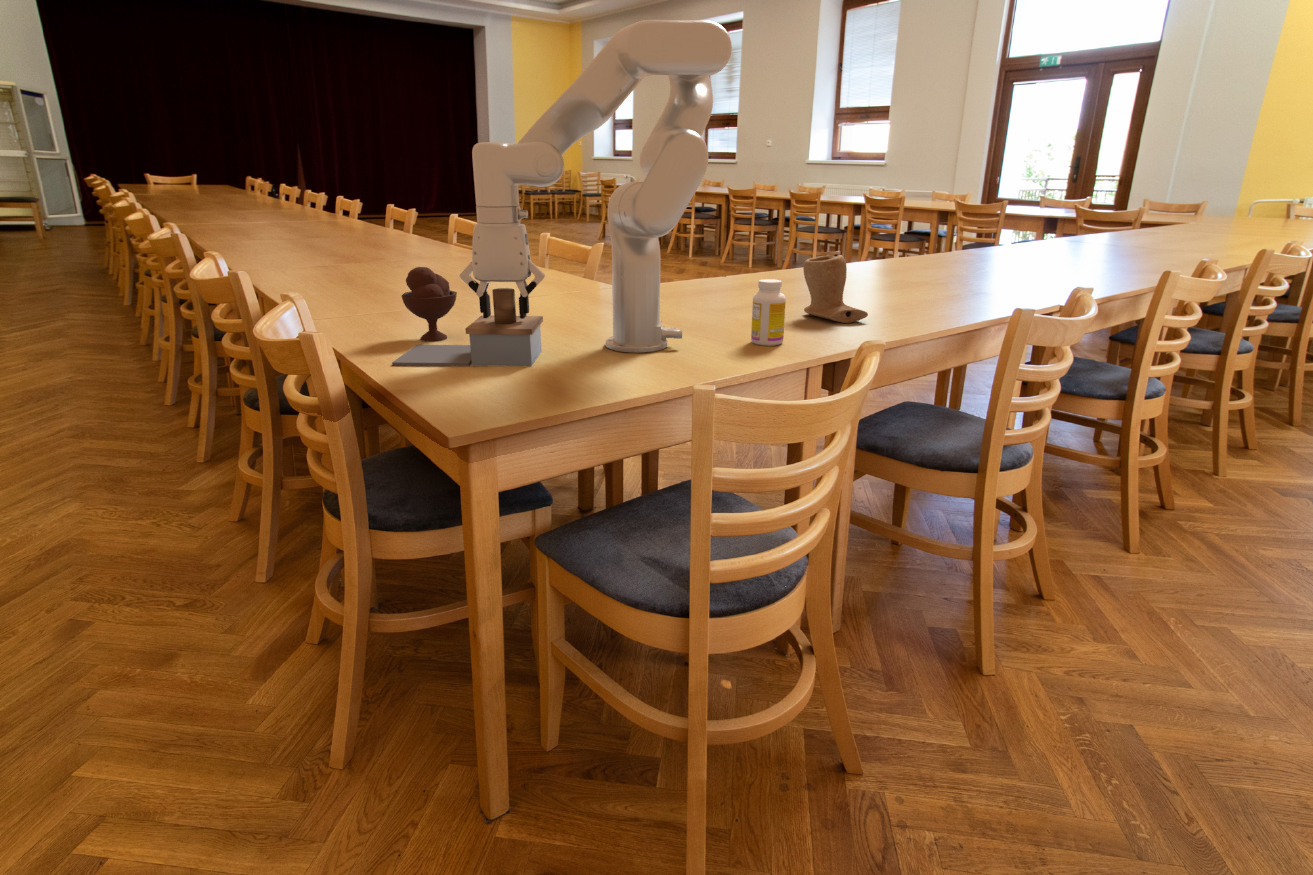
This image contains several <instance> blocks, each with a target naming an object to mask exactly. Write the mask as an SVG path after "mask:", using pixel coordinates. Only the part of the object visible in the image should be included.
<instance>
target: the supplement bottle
mask: <svg viewBox="0 0 1313 875" xmlns="http://www.w3.org/2000/svg"><path fill="white" fill-rule="evenodd" d="M782 284H783V283H782V280H780V279H774V278H770V279H769V278H767V279H766V278H764V279H759V280H758V284H757V285H758V286H757V287H758V292H756V293H754V294H753V297H752V309H751V310H752V313H751V332H750V333H751V334H750V337H751V338H750V341H751V342H752V344H754V345H757V346H764V347H771V346H772V347H774V346H779V345H781V344H782V343H783V342H784V336H785V335H784V334H785V331H784V330H785V320H786V319H785V318H786V295H785V294H784V293H782V292H781V289H782Z"/></svg>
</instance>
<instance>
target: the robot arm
mask: <svg viewBox="0 0 1313 875" xmlns="http://www.w3.org/2000/svg"><path fill="white" fill-rule="evenodd" d="M732 49H733V45H732V40H731V37H730V34H729V32H728V31H727V29H726V28H724V27H723V26H722V25H721V24H719V23H718V22H715V21H713V20H704V19H703V20H702V19H698V20H697V19H693V20H692V19H691V20H690V19H688V20H687V19H684V20H683V19H679V20H677V19H643V20H640V21H637V22H634V23H632V24H629V25H626V26H624V27H621V29H619V30H618V31H617V32H616V33H615V34H614V35H613V36H612V37H611V38H609V40H608V41H607V42H606V44H605V45H604V46H603V47H602V48H601V49H600V51H599V52H598V53H597V54H596V55H595V57H594V58H593V59H592V60H591V62H589V64H588V65H587V66H586V68H585V69H584V70H583V71H582V72H581V73H580V74H579V75H578V76H577V78H576V79H575V80H574V81H573V83H572V84H571V85H570V86H569V87H568V88H567V89H565V91H564V92H563V93H562V94H561V95H560V96H559V97H558V99H556V101H554V102H553V104H552V105H551V106H550V107H549V108H548V109H547V110H546V111H545V112H544V113H543V114H541V116H540V117H539V118H538V119H537V120H536V121H535V123H533V125H532V126H531V127H530V128H529V129H528V130H527V132H526V133H525V134H524V135H523V136H522V137H521V139H520V140H519V141H518V142H517V143H515V144H512V143H509V142H501V141H500V142H499V141H498V142H497V141H487V142H485V141H484V142H482V141H481V142H477V143H476V144H474V145H473V147H472V151H471V153H472V154H471V155H472V156H471V157H472V168H473V169H472V170H473V182H474V195H475V205H476V206H475V209H476V221H477V224H474V225H473V230H472V231H473V233H472V242H471V244H472V247H471V249H472V251H471V252H472V253H471V254H472V255H471V262H470V263H468V265H467V266H466V267H464V268H465V269H463V271H461V272H460V274H459V278H460V279H461V280H462V281H463V282H464V283H465V284H467V285H468V287H469V288H470V289H471V290H472V291H473V292H474V293H475V294H476V296H478V298H479V300H478V301H479V312H480V314H482V316H483V318H488V317H489V316H492V315H491V314H492V312H491V311H492V308H491V297H490V294H489V293H488V288H489V287H490V286H489V285H490V283H491V282H493V283H496V282H497V283H515V284H516V287H517V288H518V291H519V293H520V294H519V295H520V296H519V297H518V308H519V309H518V312H519V316H520V318H521V319H524V318H525V317H526V316H528V314H529V313H530V301H529V297H530V296H529V295H530V294H531V293H532V292H533V290H535V288H536V287H538V285H539V284H540V283H541V282H542V281H543V280H544V279H545V277H546V274H545V273H544V272H543V271H542V269H540V268H539V267H538V266H537V265H536V264H535V263H534V262H533V261H532V260H531V259H532V258H531V251H530V242H529V237H528V236H529V235H528V232H527V227H526V225H525V224H524V223H521V221H522V219H524V218H525V219H528V218H529V211H528V210H527V209H522V208H521V206H520V195H519V185H522V186H524V185H525V186H532V187H537V188H539V187H540V188H546V187H549V186H552V185H554V184H556V183H557V182H558V181H560V179H561V177H562V176H563V174H564V170H565V160H564V157H563V156H564V154H565V153H566V152H567V151H568V150H569V149H570V148H571V147H572V146H574V144H575V143H577V142H578V141H579V140H580V139H582V138H583V137H585V136H586V135H589V134H590V133H593V132H594V131H596V130H598V129H599V128H600V127H601V126H603V125H604V124H606V122H608V120H609V119H610V118H611V117H612V116H613V115H614V114H615V112H616V111H618V109H619V107H621V105H622V104H623V102H624V101H625V100H626V99H628V97H629V96H630V95H631V93H632V92H634V90H635V89H636V88H637V87H638V85H639V84H640V83H641V82H642V81H643V79H644V78H646V77H649V76H657V75H658V76H668V80H669V89H670V91H669V96H668V99H667V102H666V104H665V106H664V108H663V111H662V113H661V114H660V117H659V118H658V119H657V122H656V124H655V125H654V127H653V128H652V130H651V132H650V134H649V136H648V137H647V139H646V141H645V143H644V144H643V147H642V148H641V152H640V155H639V165H640V169H641V172H642V173H643V174H644V176H645V178H644V180H643V181H628V182H625V183H623V184H621V185H619V186H618V187H617V188H615V190H613V192H612V193H611V195H610V198H609V200H608V203H607V222H608V227H609V235H610V244H611V280H612V281H611V282H612V283H611V286H612V287H611V290H612V292H611V293H612V335H611V336H610V337H607V338H606V339H605V347H606V348H607V349H609V350H612V351H615V352H622V353H633V354H634V353H636V354H637V353H650V352H651V353H652V352H657V351H661V350H664V349H665V348H667V347H668V339H673V340H674V339H680V340H681V339H683V328H677V327H665V326H663V324H662V323H663V322H662V321H661V268H662V267H661V265H662V264H661V261H662V260H661V249H660V248H661V246H660V240H659V238H661V237H664V236H666V235H667V234H670V232H672V230H673V229H674V228H675V227H676V226H677V224H678V223H679V221H680V220H681V218H682V216H683V215H684V213H685V211H686V209H687V208H688V206H689V204H690V203H691V201H692V198H693V197H694V195H695V193H696V191H697V190H698V188H699V186H700V184H701V182H702V181H703V179H704V177H705V175H706V172H707V168H708V165H709V164H708V163H709V150H708V146H707V143H706V141H705V140H704V138H703V137H702V135H703V133H704V131H705V129H706V127H707V125H708V123H709V121H710V119H711V116H712V112H713V108H714V106H713V105H714V104H713V103H714V96H713V95H714V94H713V87H712V81H711V77H710V76H714V75H716V74H718V73H719V72H721V71H723V70H724V69H725V67H726V66H727V64H728V63H729V61H730V58H731V55H732V52H733V51H732ZM471 274H473V277H472V275H471ZM532 274H533V276H534V278H533V280H531V281H530V283H529V284H528V282H527V280H528V278H530V277H531V276H532ZM476 280H477V281H476Z"/></svg>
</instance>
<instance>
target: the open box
mask: <svg viewBox="0 0 1313 875" xmlns="http://www.w3.org/2000/svg"><path fill="white" fill-rule="evenodd" d="M541 332H542V331H541V325H540V326H539V327H538V328H537V329H536V331H535V332H534V333H533V334H532V335H514V334H468V335H469V345H470V348H471V360H472V363H471V366H474V367H476V366H477V367H480V366H481V367H483V366H484V367H532V366H533V365H534V363H535V362H536V360H537V359H538V358H539V357H540V355H541V353H542V352H543V351H542V335H541V334H542V333H541Z"/></svg>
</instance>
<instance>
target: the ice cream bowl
mask: <svg viewBox="0 0 1313 875" xmlns="http://www.w3.org/2000/svg"><path fill="white" fill-rule="evenodd" d="M405 284H406V286H407V287H408V289H409V291H405V292H404V293H402V294H401V296H400V297H401V299H402V302H403V304H404V306H405V307H406V309H407V310H408V311H409V312H411V313H412V314H413V315H415V316H416V317H418V318H421V319H423V320H425V321H426V322H427V325H428V326H427V327H428V331H426V332H425V333H424V334H422V335H421V337H420V339H419V340H420V341H422V342H441V341H445V340H447V339H448V336H447V334H445V333H444V332H442V331H440V330H438V324H437V323H438V320H439V319H441V318H443V317H445V316H446V315H447V314H448V313H449V312H450V311H451V310H452V308H454V306H455V304H456V300H457V297H458V296H457V295H458V292H457V291H454V290H451V289H450V282H449V281H448V280H447V279H446V278H445V277H443V276H442V275H440V274H437V273H435V272H434V270H431V269H430V268H429V267H428V266H427V267H426V266H417V267H415V268H412V269H411V270H409V272H408V273H407V276H406V278H405Z"/></svg>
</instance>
